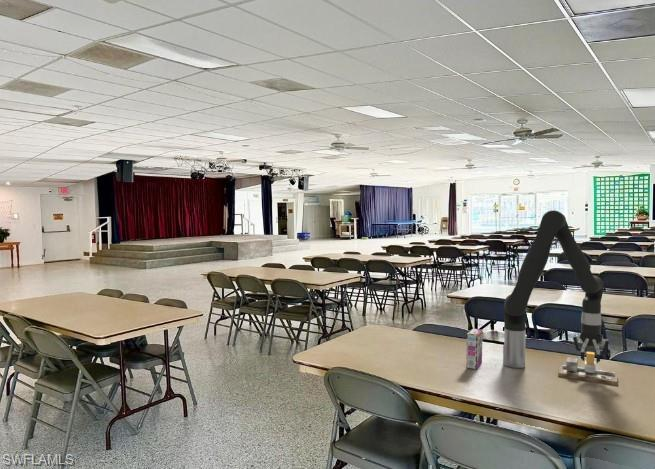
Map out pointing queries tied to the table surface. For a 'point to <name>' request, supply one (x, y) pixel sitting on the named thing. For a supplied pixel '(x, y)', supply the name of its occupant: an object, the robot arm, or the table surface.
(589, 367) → the block
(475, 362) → the candy bar box
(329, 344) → the table surface
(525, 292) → the robot arm
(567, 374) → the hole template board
